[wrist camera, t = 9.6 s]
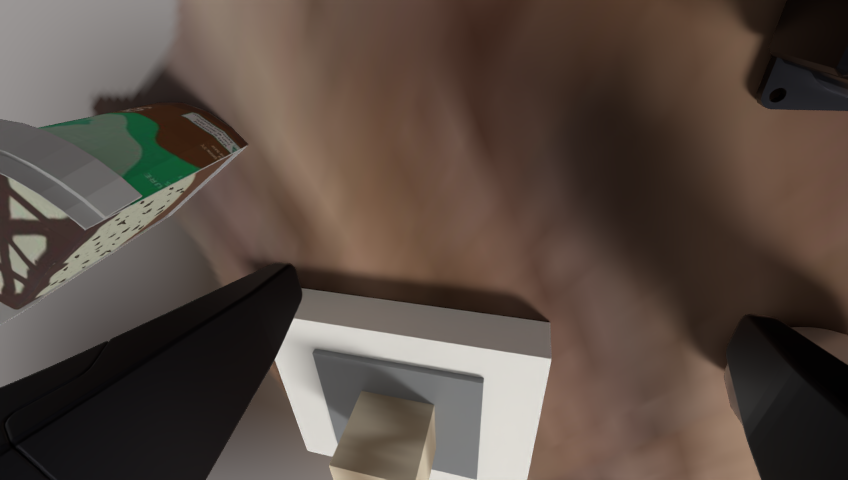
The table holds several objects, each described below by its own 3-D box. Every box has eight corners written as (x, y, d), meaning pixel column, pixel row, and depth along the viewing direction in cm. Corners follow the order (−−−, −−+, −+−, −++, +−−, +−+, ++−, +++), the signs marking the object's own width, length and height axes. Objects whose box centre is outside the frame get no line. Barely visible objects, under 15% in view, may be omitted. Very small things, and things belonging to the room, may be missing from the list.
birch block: (434, 405, 25) (414, 486, 21) (435, 448, 28) (418, 527, 24) (361, 390, 26) (328, 465, 22) (369, 433, 29) (342, 507, 25)
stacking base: (550, 322, 23) (551, 364, 21) (523, 465, 32) (522, 507, 29) (281, 285, 27) (254, 317, 25) (322, 421, 36) (305, 455, 33)
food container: (174, 24, 19) (-97, 54, 11) (264, 130, 21) (91, 223, 13) (83, 151, 25) (-135, 232, 17) (160, 225, 27) (-3, 328, 19)
